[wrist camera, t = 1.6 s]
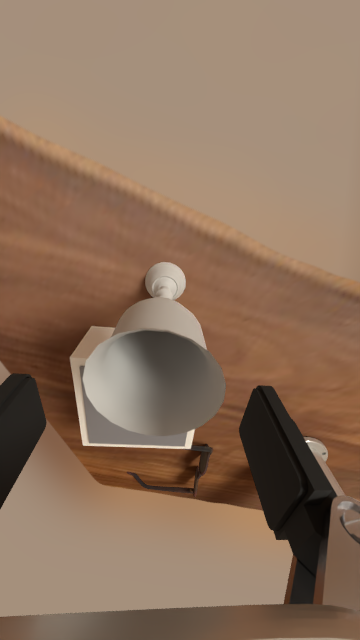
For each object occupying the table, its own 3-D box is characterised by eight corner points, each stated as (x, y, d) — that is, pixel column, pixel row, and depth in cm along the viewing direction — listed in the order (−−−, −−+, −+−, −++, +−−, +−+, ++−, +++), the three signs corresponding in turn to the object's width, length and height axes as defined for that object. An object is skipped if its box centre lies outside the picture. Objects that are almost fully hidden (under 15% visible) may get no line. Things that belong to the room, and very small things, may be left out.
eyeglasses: (194, 477, 48) (196, 504, 43) (126, 472, 46) (121, 501, 41) (210, 434, 41) (215, 462, 37) (132, 427, 39) (127, 455, 35)
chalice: (124, 279, 26) (52, 385, 10) (165, 240, 24) (153, 296, 8) (165, 318, 29) (158, 451, 13) (205, 286, 27) (253, 395, 11)
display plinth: (187, 408, 37) (190, 451, 31) (98, 404, 36) (82, 447, 29) (200, 334, 30) (208, 368, 24) (91, 325, 29) (68, 359, 23)
